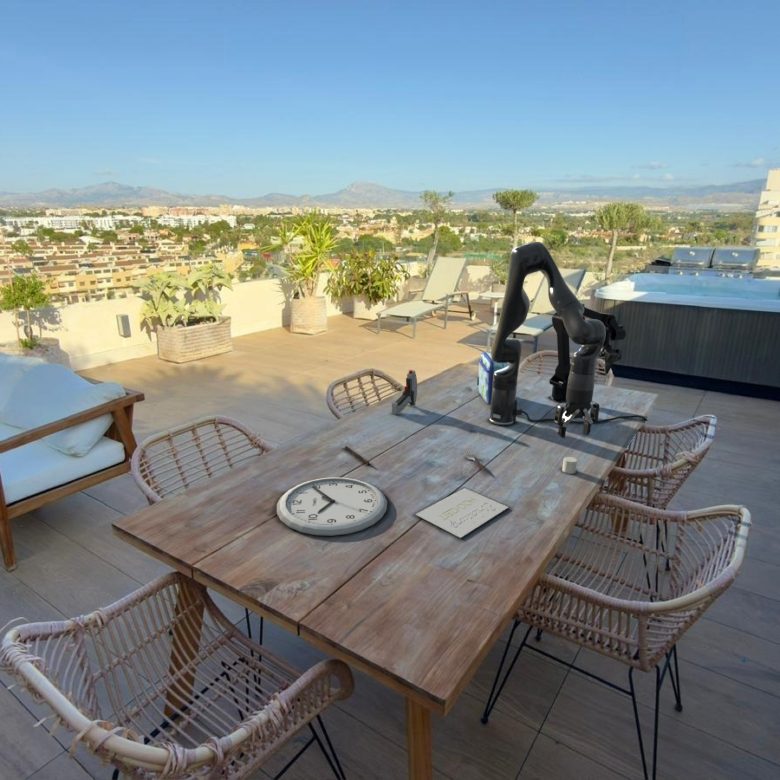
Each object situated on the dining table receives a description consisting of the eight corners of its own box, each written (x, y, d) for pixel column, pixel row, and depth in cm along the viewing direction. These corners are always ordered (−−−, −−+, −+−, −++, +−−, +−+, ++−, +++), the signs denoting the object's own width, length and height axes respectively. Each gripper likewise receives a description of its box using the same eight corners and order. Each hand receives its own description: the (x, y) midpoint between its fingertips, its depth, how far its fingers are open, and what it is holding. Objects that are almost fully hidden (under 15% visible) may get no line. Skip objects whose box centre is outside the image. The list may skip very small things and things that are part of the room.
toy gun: (391, 378, 208) (412, 368, 219) (392, 415, 214) (412, 403, 225) (395, 379, 207) (417, 369, 218) (396, 416, 212) (417, 405, 223)
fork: (483, 474, 162) (483, 469, 161) (463, 454, 176) (463, 448, 176) (491, 474, 162) (491, 468, 162) (470, 453, 177) (470, 447, 176)
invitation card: (464, 487, 153) (508, 506, 143) (464, 488, 153) (508, 507, 143) (415, 513, 138) (460, 537, 128) (415, 514, 138) (460, 538, 128)
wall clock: (392, 527, 129) (268, 531, 127) (391, 533, 130) (269, 537, 127) (383, 473, 158) (282, 475, 155) (383, 478, 158) (282, 480, 156)
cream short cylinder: (572, 475, 163) (574, 463, 162) (560, 471, 165) (561, 459, 164) (577, 470, 166) (578, 459, 165) (565, 467, 168) (566, 455, 167)
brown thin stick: (344, 448, 179) (344, 445, 179) (346, 448, 179) (346, 445, 179) (367, 464, 167) (367, 462, 167) (368, 464, 167) (368, 461, 167)
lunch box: (475, 390, 246) (478, 346, 240) (498, 390, 246) (501, 347, 240) (484, 408, 221) (487, 360, 215) (509, 409, 221) (513, 360, 215)
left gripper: (567, 391, 152) (561, 442, 157) (608, 388, 156) (601, 438, 161) (552, 384, 159) (547, 433, 164) (592, 380, 163) (585, 429, 168)
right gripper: (599, 346, 226) (594, 381, 231) (632, 343, 232) (627, 377, 237) (581, 341, 236) (577, 374, 240) (614, 338, 242) (609, 371, 247)
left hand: (573, 435), depth 162 cm, fingers open, 8 cm apart
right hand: (598, 374), depth 241 cm, fingers open, 9 cm apart
